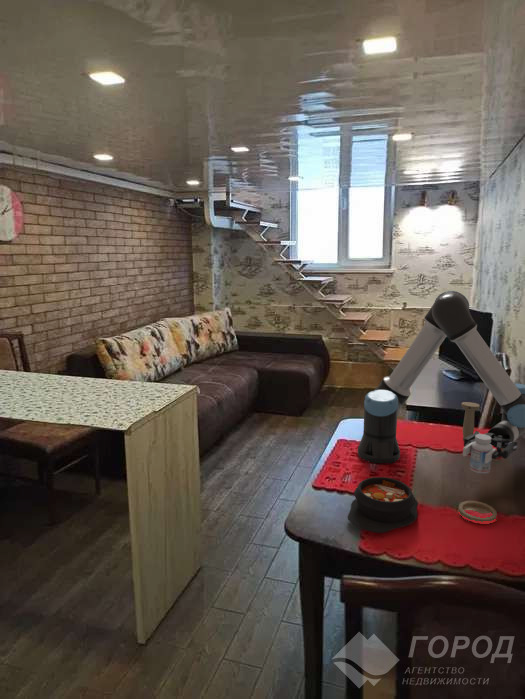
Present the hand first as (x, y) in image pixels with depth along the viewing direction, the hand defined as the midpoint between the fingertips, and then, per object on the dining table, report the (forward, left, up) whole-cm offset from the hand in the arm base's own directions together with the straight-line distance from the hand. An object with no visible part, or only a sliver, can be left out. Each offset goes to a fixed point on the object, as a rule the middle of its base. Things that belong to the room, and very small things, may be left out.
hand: (475, 455), depth 151 cm
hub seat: (-4, -12, -13) cm, 18 cm away
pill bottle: (+4, +4, -7) cm, 9 cm away
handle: (+15, +41, -13) cm, 45 cm away
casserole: (-31, -12, -13) cm, 35 cm away
